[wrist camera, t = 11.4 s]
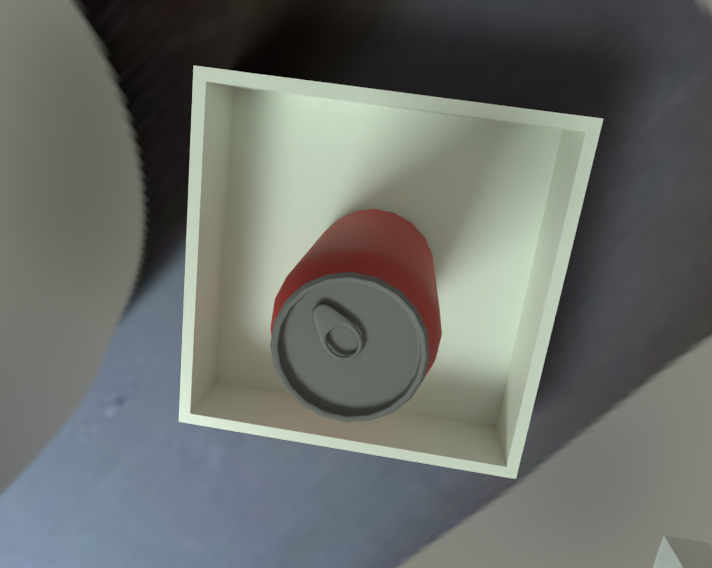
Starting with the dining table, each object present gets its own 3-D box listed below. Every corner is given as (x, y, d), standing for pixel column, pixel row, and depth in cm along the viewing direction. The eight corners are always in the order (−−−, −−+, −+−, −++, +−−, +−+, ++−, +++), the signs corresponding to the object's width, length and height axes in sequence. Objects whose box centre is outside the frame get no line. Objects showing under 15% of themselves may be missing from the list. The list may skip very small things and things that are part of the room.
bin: (226, 74, 29) (193, 65, 25) (574, 119, 28) (603, 118, 24) (208, 383, 35) (178, 421, 30) (502, 432, 33) (515, 478, 29)
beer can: (390, 182, 29) (375, 220, 18) (457, 284, 31) (482, 380, 19) (290, 249, 31) (217, 323, 20) (357, 344, 32) (325, 466, 21)
